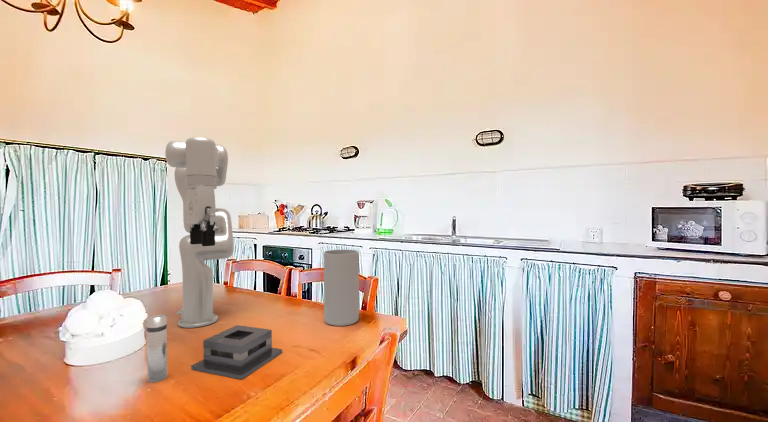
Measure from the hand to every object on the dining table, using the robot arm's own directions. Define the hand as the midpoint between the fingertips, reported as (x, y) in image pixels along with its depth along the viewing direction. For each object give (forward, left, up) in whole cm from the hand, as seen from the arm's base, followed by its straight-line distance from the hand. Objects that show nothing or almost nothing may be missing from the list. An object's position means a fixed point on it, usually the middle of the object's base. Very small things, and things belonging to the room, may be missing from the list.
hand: (202, 244), depth 95 cm
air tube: (-1, -13, -31) cm, 34 cm away
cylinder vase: (+23, +39, -31) cm, 55 cm away
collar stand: (+11, +1, -31) cm, 33 cm away
